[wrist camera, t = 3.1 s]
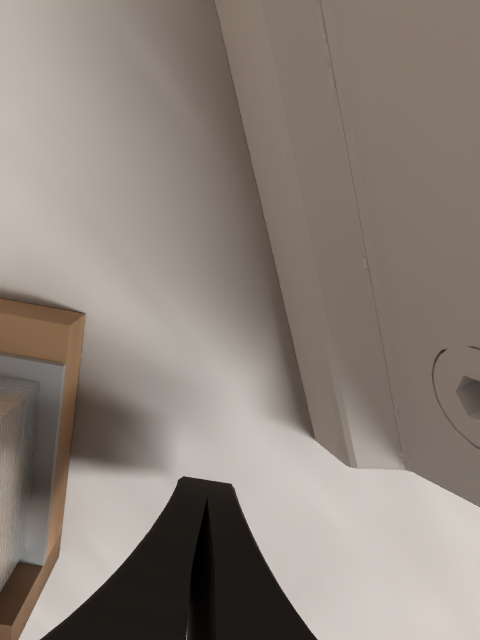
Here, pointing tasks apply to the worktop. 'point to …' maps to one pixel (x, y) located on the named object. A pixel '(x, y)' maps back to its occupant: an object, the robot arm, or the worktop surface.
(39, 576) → the rail
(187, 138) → the worktop surface
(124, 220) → the worktop surface
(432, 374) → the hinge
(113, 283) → the worktop surface
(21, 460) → the metal cube with knob
